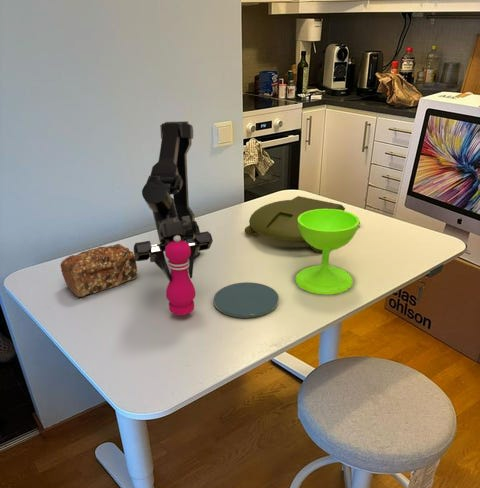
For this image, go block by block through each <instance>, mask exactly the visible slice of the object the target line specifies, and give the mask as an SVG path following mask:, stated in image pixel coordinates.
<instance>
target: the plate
mask: <svg viewBox="0 0 480 488" xmlns="http://www.w3.org/2000/svg"><path fill="white" fill-rule="evenodd" d="M279 300H280V299H279V294H278V293H277V291H276V290H275V289H273V288H272V287H270V286H268V285H266V284H263V283H259V282H249V281H246V282H236V283H232V284H228V285H226V286H224V287H222V288H220V289H219V290H218V291H217V292H216V293H215V294H214V297H213V304H214V306H215V308H216V309H217V311H219V312H220V313H222V314H224V315H226V316H229V317H235V318H241V319H245V318H246V319H249V318H258V317H261V316H264V315H267V314H269V313H271V312H272V311H273V310H275V309H276V307H278V305H279V302H280V301H279Z"/></svg>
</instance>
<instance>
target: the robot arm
mask: <svg viewBox="0 0 480 488" xmlns="http://www.w3.org/2000/svg"><path fill="white" fill-rule="evenodd" d="M159 127H160V139H161V141H160V147H159V148H160V149H159V156H158V160H157V162H156V163H155V164H154V165H153V166H152V168H151V170H150V171H151V172H150V175H149V176H148V178H147V180H146V182H145V184H144V186H143V188H142V190H141V195H142V198H143V200H144V202H145V203H146V205H147V207H148V208H149V209H150V210H151V212H152V215H153V219H154V224H155V227H156V232H157V237H158V240H159V243H158V244H152V242H151V241H150V240H146V241H139V242H134V245H133V254H134V257H135V261H136V262H143V261H149V262H150V263H155V265H156V266H157V267H158V268H159V269H160V270H161V271H162V273H163V274H164V276H165V277H166V279H167V280H168V282H169V281H170V282H172V279H171V270H170V268H169V266H168V262H167V260H166V255H165V248H166V246H167V244H168V243H169V242H171V241H173V237H174V236H175V235H179V236H180V237H181V240H183V241H185V242H187V243H188V244H189V246H190V249H191V255H190V257H189V258H188V259H189V267H188V275H189V278H190V279H192V278H193V273H194V271H193V270H194V260H195V259H196V258H197V257H198V256H200V255H201V251H207V250H209V249H210V248H211V246H212V243H213V241H214V240H213V237H212V234H211V232H209V231H201V230H200V226H199V224H198V222H197V220H196V219H195V218H196V217H195V213H194V212H193V210H192V209H191V207H190V203H189V182H188V180H189V179H188V160H187V159H188V158H187V156H188V155H187V154H188V153H189V151H190V149H191V147H192V145H193V144H192V140H193V139H194V126H193V125H192V124H190V123H189V121H184V120H183V121H164V122H162V123H161V124H160V125H159ZM172 196H173V197H172Z"/></svg>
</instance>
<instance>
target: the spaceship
mask: <svg viewBox="0 0 480 488" xmlns="http://www.w3.org/2000/svg"><path fill="white" fill-rule="evenodd" d="M316 209H337V210H343V211H346V207H345V206H344V205H342V204H340V203H335V202H330V201H325V200H320V199H315V198H310V197H305V196H300V195H298V196H296V197H294V198H292V199H284V200H278V201H274V202H270V203H267V204H265V205H263V206H261V207H259V208H257V209H256V210H254V212H253V213H252V214H251V215H250V216H249V220H248V223H249V225H248V226H245V228H244V233H245V234H247V235H251V236H252V235H257V234H260V235H262V236H264V237H267V238H271V239H275V240H282V241H297V242H298V241H305V239H304V238H303V237H302V235H301V233H300V230H299V228H298V217H299V216H300V215H301V214H302V213H304V212H307V211H310V210H316ZM359 225H361V221H360V220H359ZM310 246H311V245H310ZM311 250H312V251H313V252H316V253H322V251H323V250H320V249H317V248H315V247H313V246H311Z"/></svg>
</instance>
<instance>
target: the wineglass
mask: <svg viewBox="0 0 480 488" xmlns="http://www.w3.org/2000/svg"><path fill="white" fill-rule="evenodd" d="M359 221H360V218H359V217H358V215H356V214H354V213H352V212H350V211H347V210H344V211H343V210H337V209H316V210H310V211H307V212H304V213H302V214H301V215H300V216H299V217H298V228H299V230H300V233H301V235H302V237H303V238H304V239H305V240H304V241H305V242H306V243H307V244H308V245H310V246H313V247H315V248H317V249H320V250H323V251H322V252H321V265H320V264H319V265H312V266H308V267H306V268H303V269H302V270H300V271H299V272H298V273H297V274H296V276H295V283H296V285H297V286H298V288H300V289H302V290H304V291H306V292H309V293H311V294H317V295H325V296H326V295H329V296H330V295H337V294H341V293H345V292H346V291H348V290H349V289H351V288H352V286H353V284H354V281H353V277H352V275H351V274H350V273H349V272H347V271H346V270H344V269H342V268H340V267H338V266H332V265H330V251H336V250H339V249H340V248H342V247H344V246H346V245H348V244H349V243H350V242H351V241H352V240H353V238H354V237H355V235H356V234H357V231H358V230H359V225H360V224H359Z"/></svg>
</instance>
